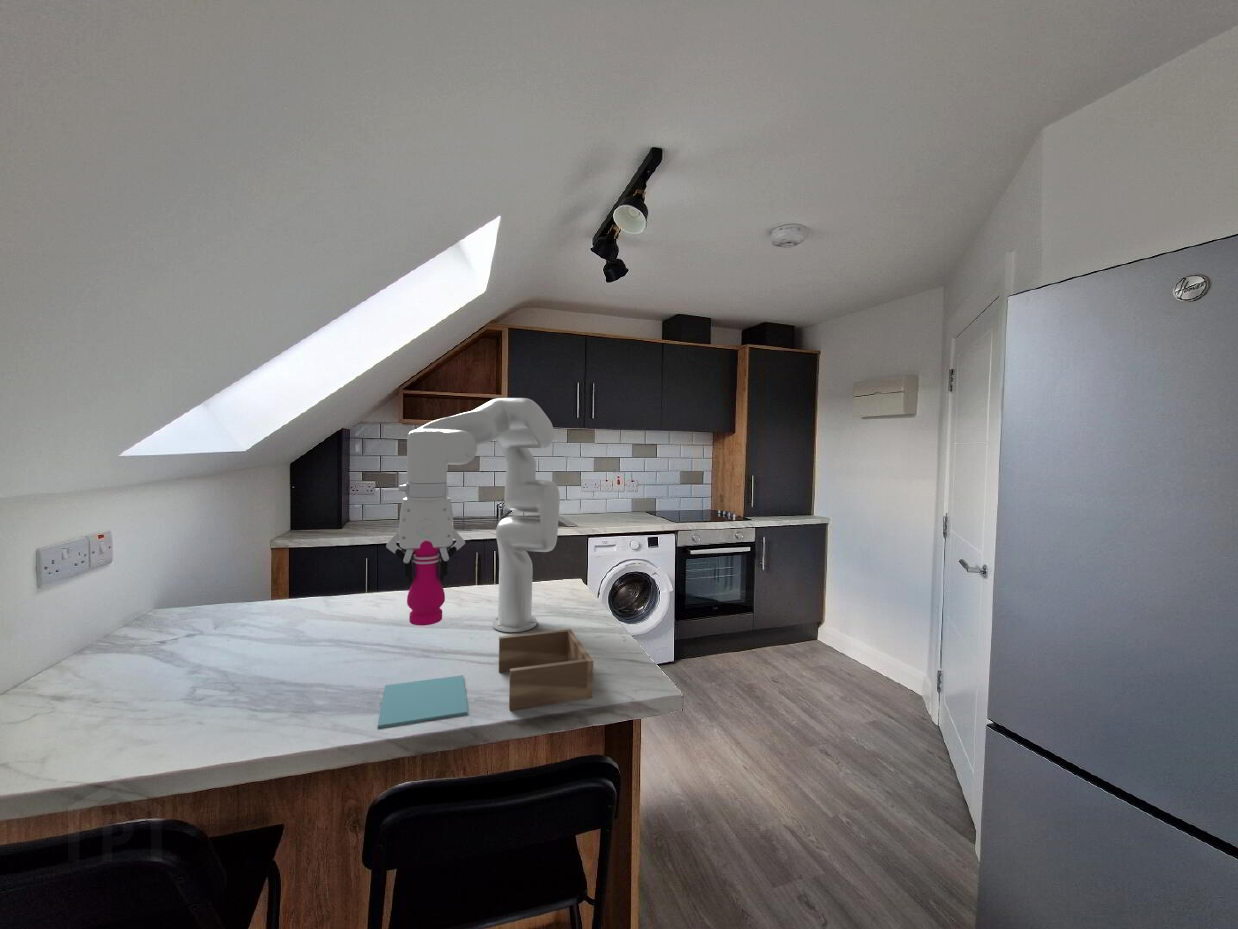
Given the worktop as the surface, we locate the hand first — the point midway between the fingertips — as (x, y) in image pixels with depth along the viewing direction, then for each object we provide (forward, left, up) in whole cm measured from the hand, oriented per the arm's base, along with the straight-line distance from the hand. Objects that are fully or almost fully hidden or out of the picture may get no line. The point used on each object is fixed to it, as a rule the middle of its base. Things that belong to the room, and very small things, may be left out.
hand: (426, 579), depth 102 cm
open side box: (0, +24, -25) cm, 35 cm away
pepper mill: (0, 0, -9) cm, 9 cm away
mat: (0, 0, -25) cm, 25 cm away
